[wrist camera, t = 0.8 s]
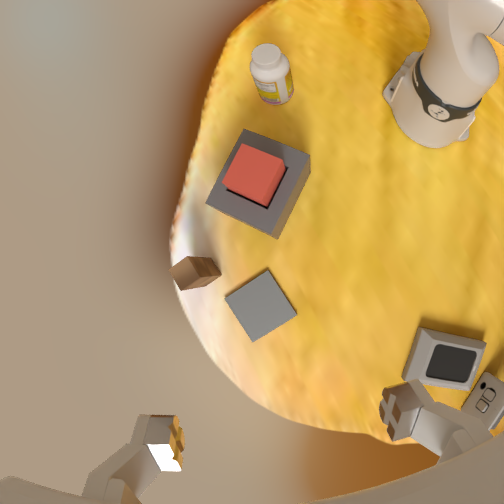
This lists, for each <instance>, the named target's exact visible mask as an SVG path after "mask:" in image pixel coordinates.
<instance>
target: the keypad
mask: <svg viewBox="0 0 504 504" xmlns="http://www.w3.org/2000/svg"><path fill="white" fill-rule="evenodd" d="M485 347H486V342H484V341H481V340H476V339H472V338H467V337H462V336H458V335H453V334H449V333H444V332H440V331H435V330H431V329H426V328H422V327H418V329H417V333H416V336H415V339H414V342H413V345H412V348H411V351H410V354H409V357H408V360H407V363H406V366H405V368H404V371H403V374H402V379H403V380H404V381H410V380H414V379H419V381H420V382H421V383H422V384H425V385H431V386H438V387H444V388H451V389H458V390H465V391H470V388H471V386H472V383H473V381H474V378H475V375H476V373H477V370H478V367H479V364H480V362H481V359H482V356H483V353H484V350H485Z"/></svg>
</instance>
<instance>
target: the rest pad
mask: <svg viewBox="0 0 504 504" xmlns="http://www.w3.org/2000/svg"><path fill="white" fill-rule="evenodd" d="M225 300H226V302H227V303H228V305H229V307H230V308H231V310H232V311H233V313H234V314H235V316H236V318H237V319H238V321H239V322H240V324H241V325H242V327H243V328H244V330H245V331H246V333H247V334H248V336H249V338H250V339H251V341H252V342H254V341H256V340H257V339H259V338H261V337H262V336H264V335H266V334H267V333H269V332H271V331H272V330H274V329H276V328H277V327H279V326H280V325H282V324H284V323H285V322H287V321H289V320H290V319H292V318H293V317H295V316H296V315H297V314H296V312H295V310H294V309H293V307H292V306H291V304H290V303H289V301H288V300H287V298H286V297H285V295H284V294H283V292H282V290H281V289H280V287H279V286H278V284H277V283H276V281H275V280H274V278H273V277H272V275H271V274H270V272H269V270H267V271H266V272H264V273H263V274H261V275H260V276H258V277H257V278H255V279H254V280H252V281H251V282H249V283H248V284H246V285H245V286H243V287H242V288H240V289H239V290H237V291H235V292H234V293H232V294H231V295H229V296H228V297H226V298H225Z"/></svg>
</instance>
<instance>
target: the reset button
mask: <svg viewBox="0 0 504 504" xmlns="http://www.w3.org/2000/svg"><path fill="white" fill-rule="evenodd" d="M285 171H286V169H285V166H284V163H283V160H282V159H280V158H277V157H275V156H272V155H270V154H268V153H265V152H263V151H260V150H258V149H255V148H253V147H250V146H248V145H245V144H243V143H242V144H241V146H240V148H239V150H238V152H237V154H236V156H235V157H234V159H233V161H232V163H231V165H230V167H229V169H228V171H227V173H226V175H225V177H224V179H223V181H222V183H223V184H224V185H225V186H226V187H228V188H229V189H230V190H231V191H233V192H235V193H238V194H240V195H242V196H244V197H246V198H249V199H251V200H253V201H255V202H257V203H259V204H262V205H264V206H266V207H268V205H269V203H270V201H271V199H272V197H273V195H274V193H275V191H276V189H277V187H278V185H279V183H280V181H281V179H282V177H283V175H284V173H285Z"/></svg>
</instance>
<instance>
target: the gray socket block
mask: <svg viewBox="0 0 504 504" xmlns="http://www.w3.org/2000/svg"><path fill="white" fill-rule="evenodd" d="M242 143H243V144H245V145H248V146H250V147H253V148H255V149H258V150H260V151H263V152H265V153H268V154H270V155H272V156H275V157H277V158H280V159H282V160H283V163H284V166H285V169H286V171H285V173H284V175H283V177H282V179H281V181H280V183H279V185H278V187H277V189H276V191H275V193H274V195H273V197H272V199H271V201H270V203H269V205H268V207H266V206H264V205H262V204H259V203H257V202H255V201H253V200H251V199H249V198H246V197H244V196H242V195H240V194H238V193H235V192H233V191H231V190H230V189H229V188H228V187H226V186H225V185H224V184H223V183H222V181H223V179H224V177H225V175H226V173H227V171H228V169H229V167H230V165H231V163H232V161H233V159H234V157H235V156H236V154H237V152H238V150H239V148H240V146H241V144H242ZM310 172H311V171H310V155H308V154H306V153H304V152H301V151H299V150H297V149H294V148H292V147H290V146H287V145H285V144H282V143H280V142H277V141H275V140H272V139H270V138H267V137H265V136H262V135H259V134H257V133H254V132H252V131H249V130H246V129H243V131H242V133H241V135H240V137H239V139H238V141H237V142H236V144H235V146H234V148H233V150H232V152H231V154H230V156H229V158H228V159H227V161H226V163H225V165H224V167H223V169H222V171H221V173H220V175H219V177H218V179H217V181H216V183H215V185H214V187H213V189H212V191H211V193H210V195H209V197H208V199H207V201H206V204H208V205H210V206H211V207H213V208H215V209H217V210H219V211H220V212H222V213H224V214H226V215H228V216H230V217H233V218H235V219H237V220H239V221H241V222H243V223H245V224H247V225H249V226H251V227H253V228H255V229H257V230H259V231H261V232H264V233H266V234H268V235H270V236H272V237H274V238H276V239H278V238H279V236H280V234H281V232H282V230H283V228H284V226H285V224H286V222H287V220H288V218H289V216H290V214H291V212H292V210H293V208H294V206H295V203H296V201H297V199H298V197H299V195H300V193H301V191H302V189H303V187H304V185H305V183H306V181H307V179H308V177H309V174H310Z"/></svg>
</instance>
